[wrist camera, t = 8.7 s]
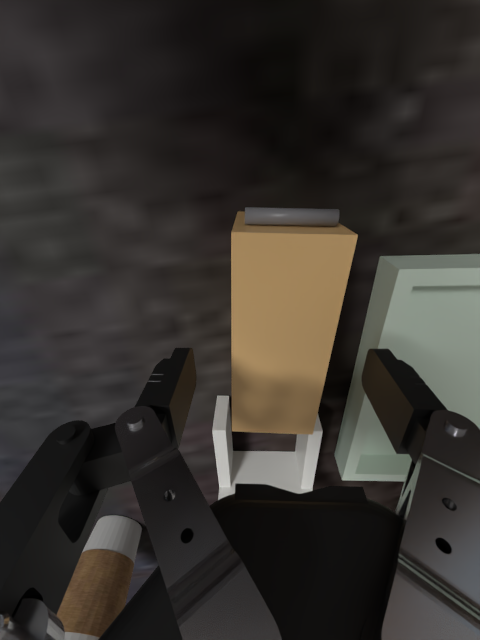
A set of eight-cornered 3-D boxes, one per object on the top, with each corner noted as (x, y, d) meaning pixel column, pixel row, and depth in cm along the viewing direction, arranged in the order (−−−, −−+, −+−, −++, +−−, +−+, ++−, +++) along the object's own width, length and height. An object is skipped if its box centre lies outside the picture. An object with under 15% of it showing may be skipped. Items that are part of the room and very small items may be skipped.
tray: (379, 256, 17) (399, 269, 14) (619, 251, 16) (677, 263, 14) (334, 454, 26) (341, 480, 24) (481, 456, 26) (502, 483, 24)
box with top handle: (238, 197, 15) (231, 212, 10) (324, 198, 15) (362, 214, 10) (236, 368, 22) (231, 431, 17) (297, 370, 22) (312, 434, 16)
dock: (217, 395, 23) (203, 493, 16) (313, 395, 23) (340, 496, 16) (223, 456, 27) (214, 555, 20) (304, 457, 27) (323, 558, 20)
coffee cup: (91, 503, 33) (-14, 722, 20) (157, 518, 34) (100, 733, 21) (85, 532, 37) (-6, 730, 24) (144, 545, 38) (90, 739, 25)
